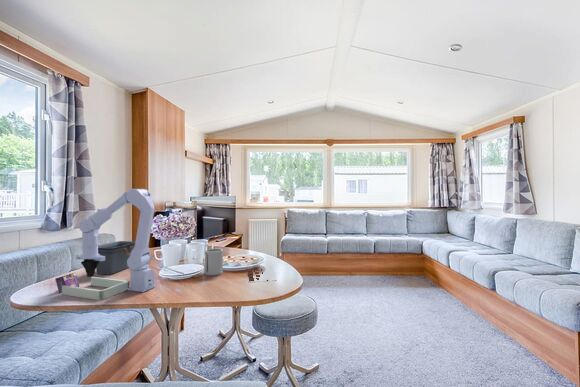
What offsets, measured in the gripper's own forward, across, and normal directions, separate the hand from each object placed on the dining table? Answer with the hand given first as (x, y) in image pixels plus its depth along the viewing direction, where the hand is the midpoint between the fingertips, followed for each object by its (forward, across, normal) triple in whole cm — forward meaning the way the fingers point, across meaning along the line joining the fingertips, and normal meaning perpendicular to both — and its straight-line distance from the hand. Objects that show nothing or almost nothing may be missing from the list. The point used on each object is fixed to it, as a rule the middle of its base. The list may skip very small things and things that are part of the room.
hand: (90, 276), depth 133 cm
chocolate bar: (+7, -63, -44) cm, 77 cm away
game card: (+5, +8, +5) cm, 11 cm away
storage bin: (+5, +13, -26) cm, 30 cm away
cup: (+6, -39, -38) cm, 55 cm away
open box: (+5, -7, +3) cm, 9 cm away
